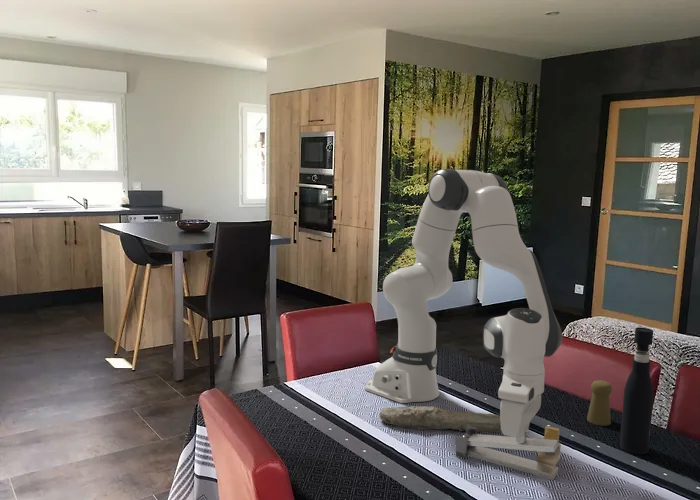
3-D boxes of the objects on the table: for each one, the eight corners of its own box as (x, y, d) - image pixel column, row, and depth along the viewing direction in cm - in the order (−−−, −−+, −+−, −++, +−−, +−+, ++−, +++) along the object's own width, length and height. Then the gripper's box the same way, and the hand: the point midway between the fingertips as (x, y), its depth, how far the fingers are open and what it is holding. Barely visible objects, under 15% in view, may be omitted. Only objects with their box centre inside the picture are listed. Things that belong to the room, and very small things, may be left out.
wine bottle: (614, 442, 147) (624, 326, 143) (638, 441, 148) (649, 325, 143) (628, 455, 141) (639, 333, 136) (654, 454, 141) (665, 333, 137)
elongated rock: (515, 444, 149) (509, 428, 159) (517, 423, 149) (511, 409, 159) (377, 427, 153) (380, 413, 163) (379, 407, 153) (382, 395, 163)
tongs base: (455, 455, 140) (456, 436, 139) (466, 443, 146) (467, 425, 145) (551, 483, 128) (553, 462, 127) (559, 469, 134) (561, 449, 133)
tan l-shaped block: (539, 448, 135) (540, 433, 135) (545, 440, 140) (546, 425, 139) (553, 452, 134) (554, 437, 133) (558, 443, 138) (559, 428, 137)
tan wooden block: (537, 464, 136) (538, 450, 135) (544, 453, 141) (545, 439, 141) (553, 469, 134) (554, 454, 133) (559, 457, 139) (560, 443, 139)
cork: (613, 426, 156) (616, 387, 155) (589, 424, 157) (592, 385, 156) (608, 417, 162) (611, 378, 160) (585, 415, 163) (587, 377, 162)
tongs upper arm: (458, 448, 140) (457, 438, 140) (466, 440, 144) (464, 430, 144) (554, 456, 128) (552, 445, 128) (559, 447, 132) (557, 436, 132)
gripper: (522, 366, 143) (520, 421, 145) (495, 393, 126) (494, 454, 127) (548, 371, 140) (546, 427, 141) (525, 398, 122) (523, 462, 124)
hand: (521, 440), depth 134 cm, fingers closed, pressing on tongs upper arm
